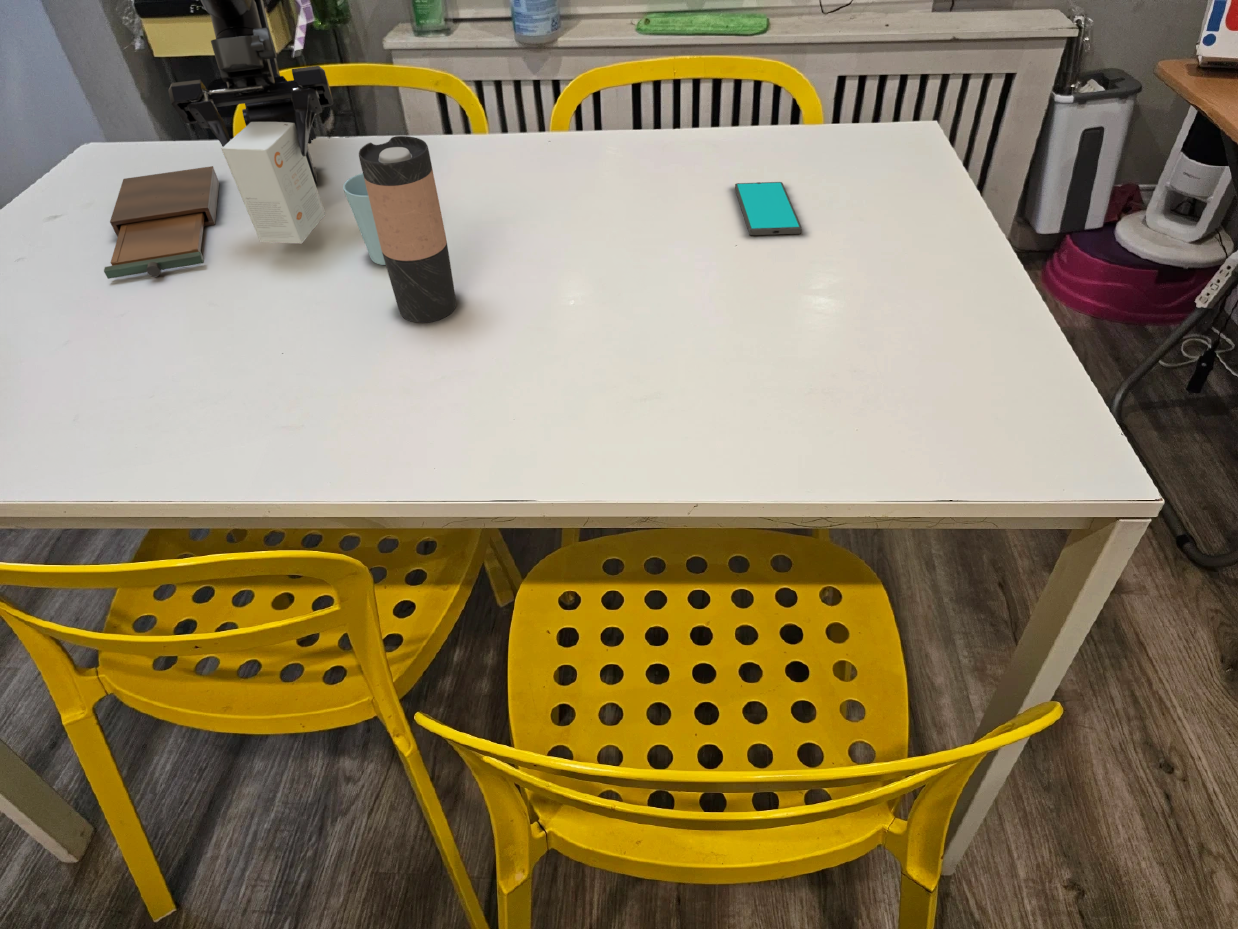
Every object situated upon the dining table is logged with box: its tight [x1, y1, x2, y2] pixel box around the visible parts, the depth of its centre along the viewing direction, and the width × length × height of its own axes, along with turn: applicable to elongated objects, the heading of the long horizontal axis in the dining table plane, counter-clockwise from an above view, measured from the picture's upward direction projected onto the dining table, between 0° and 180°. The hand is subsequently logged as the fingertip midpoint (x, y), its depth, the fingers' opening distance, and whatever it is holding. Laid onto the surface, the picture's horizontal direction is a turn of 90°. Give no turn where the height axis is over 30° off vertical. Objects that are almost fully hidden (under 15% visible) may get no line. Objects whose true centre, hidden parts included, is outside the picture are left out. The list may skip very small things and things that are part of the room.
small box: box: [220, 122, 326, 244], centre depth 104 cm, size 8×6×13 cm
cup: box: [342, 172, 386, 266], centre depth 106 cm, size 8×8×10 cm
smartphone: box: [734, 181, 803, 236], centre depth 116 cm, size 7×1×15 cm
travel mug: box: [358, 135, 457, 324], centre depth 93 cm, size 8×8×20 cm
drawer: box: [103, 212, 205, 280], centre depth 110 cm, size 16×12×2 cm
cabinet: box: [109, 165, 220, 238], centre depth 120 cm, size 15×13×3 cm
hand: (269, 159), depth 102 cm, fingers closed on small box, 8 cm apart
